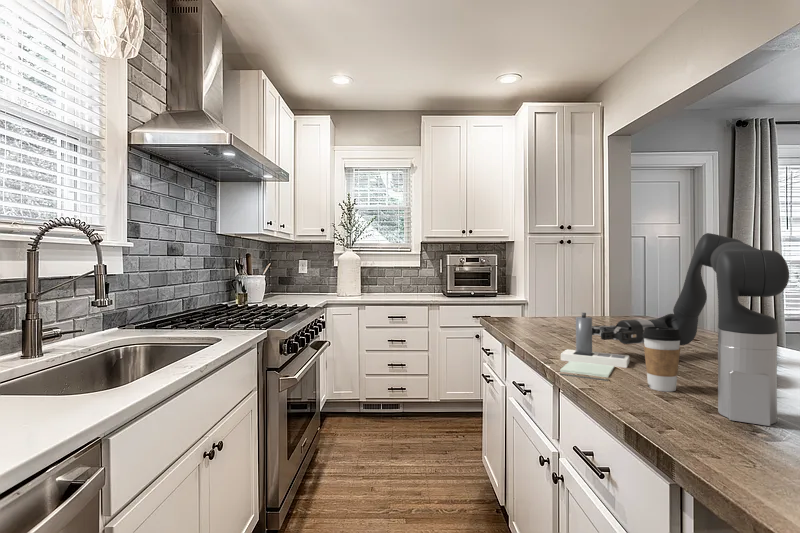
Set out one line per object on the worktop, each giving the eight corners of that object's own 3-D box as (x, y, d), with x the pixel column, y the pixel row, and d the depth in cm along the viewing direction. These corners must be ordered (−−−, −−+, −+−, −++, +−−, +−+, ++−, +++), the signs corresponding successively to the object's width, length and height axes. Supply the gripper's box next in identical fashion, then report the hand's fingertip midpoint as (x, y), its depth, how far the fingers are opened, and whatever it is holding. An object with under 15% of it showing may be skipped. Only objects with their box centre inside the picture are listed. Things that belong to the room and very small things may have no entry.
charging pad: (608, 381, 114) (608, 375, 114) (560, 375, 120) (560, 369, 120) (614, 371, 124) (614, 366, 124) (569, 366, 130) (569, 361, 130)
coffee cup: (648, 392, 104) (648, 329, 104) (637, 382, 112) (637, 324, 112) (688, 394, 102) (687, 330, 102) (674, 384, 110) (674, 325, 110)
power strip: (651, 373, 120) (650, 362, 120) (560, 363, 133) (560, 353, 133) (652, 367, 127) (652, 356, 127) (566, 358, 140) (566, 348, 140)
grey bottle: (590, 362, 130) (590, 314, 130) (574, 360, 133) (574, 313, 133) (593, 359, 134) (593, 312, 134) (577, 357, 137) (577, 311, 137)
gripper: (618, 317, 145) (576, 318, 141) (653, 322, 131) (608, 324, 127) (618, 339, 145) (577, 342, 141) (654, 347, 132) (608, 350, 127)
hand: (592, 333), depth 134 cm, fingers open, 8 cm apart
